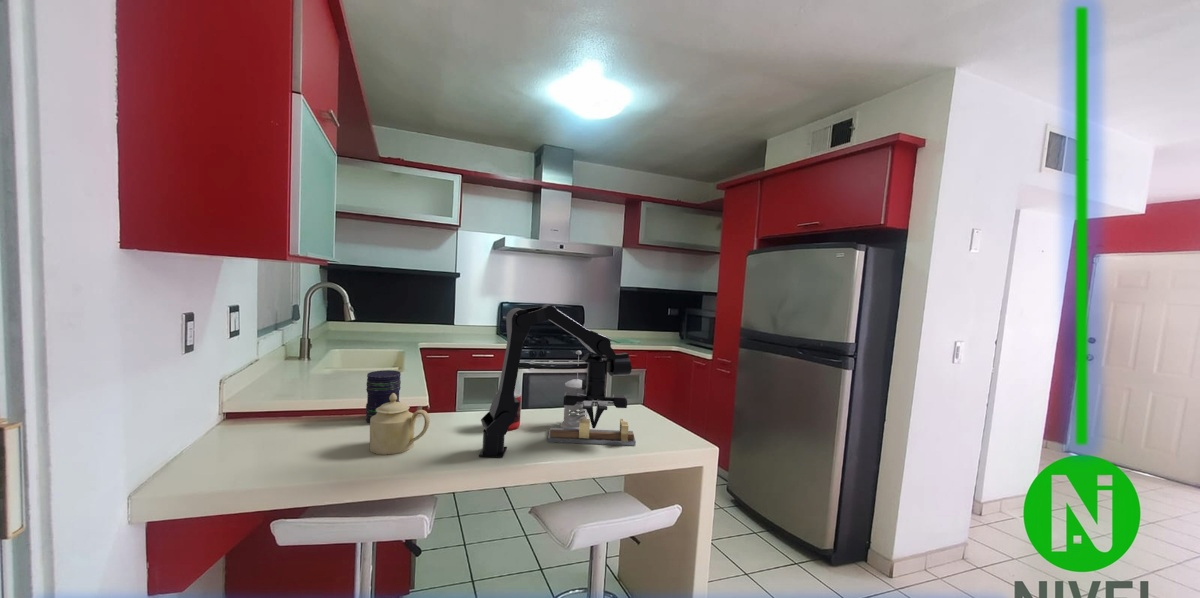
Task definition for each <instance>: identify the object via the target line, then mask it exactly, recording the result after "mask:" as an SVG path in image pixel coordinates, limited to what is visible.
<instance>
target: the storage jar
mask: <svg viewBox="0 0 1200 598" xmlns="http://www.w3.org/2000/svg"><path fill="white" fill-rule="evenodd" d="M401 374H402V373H401V372H400V371H399V370H392V369H391V370H389V369H387V370H377V371H371V372H368V373H367V374H366V377H367V378H366V389H365V390H366V393H367V397H366V398H367V399H366V400H367V401H366V404H365V417H366V419H365V422H366V423H367V424H369V425H370V419H371V417H372V416H374V415H376V414H377V411H376V409H377V408H378V407H380V406H381V405H383V404H385V403H389V402H391V401H390V399H389V397H390V395H391V394H392V393H395V394H396V396H397V400H396V402H401V401H400V390H401Z"/></svg>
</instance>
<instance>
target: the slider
mask: <svg viewBox="0 0 1200 598" xmlns="http://www.w3.org/2000/svg"><path fill="white" fill-rule="evenodd" d="M590 423H591V421H590V418H587V419H586V417H583V419H580V425H579V438H589V429H591V427H590V425H591V424H590Z"/></svg>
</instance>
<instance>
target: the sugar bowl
mask: <svg viewBox="0 0 1200 598" xmlns="http://www.w3.org/2000/svg"><path fill="white" fill-rule="evenodd" d="M389 399H390V401H391V402H389V403H385V404H383V405H381V406H380V407H378V408H377V409H376V411H377V414H376V415H374V416H372V417H371V419H370V424H369V450H370V452H371V453H373V454H375V453H376V455H381V454H382V455H387V454H388V455H396V454H402V453H404V452H407V451H409V450H410V449H412V448H413V447H414V443H415V442H416V441H418V440H419V439H420V438H422V437H423V436H424V434H426V432H427V431H428V429H429V427H430V422H431V421H430V415H429V413H428V412H427V411H426V410H424V409H418V410H416V411H414V412H410V411H409V409H410V406H409V405H408V404H405V402H401V401H400V402H396V400H397V396H396V394H395V393H392V394H391V395H390V397H389ZM418 414H420V415H422V417H423V419H424V424H423V428H422V429H421V432H420V433H419V434H418V435H416V436H415V424H416V420H417V418H418Z"/></svg>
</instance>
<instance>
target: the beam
mask: <svg viewBox="0 0 1200 598" xmlns="http://www.w3.org/2000/svg"><path fill="white" fill-rule="evenodd" d="M629 426H630V425H629V423H628V421H624V419H623V418H620V419H619V431H620V432H598V431H589V438H595V439H619V440H621V441H628V440H634V437H635V433H634V432H633V433H628V431H629ZM549 432H550V437H570V438H579V431H574V430H550V429H549Z"/></svg>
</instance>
